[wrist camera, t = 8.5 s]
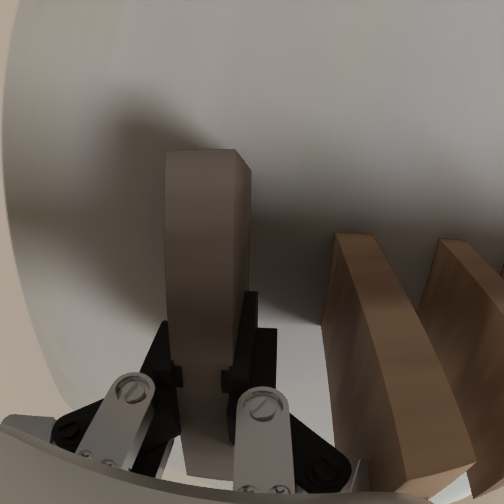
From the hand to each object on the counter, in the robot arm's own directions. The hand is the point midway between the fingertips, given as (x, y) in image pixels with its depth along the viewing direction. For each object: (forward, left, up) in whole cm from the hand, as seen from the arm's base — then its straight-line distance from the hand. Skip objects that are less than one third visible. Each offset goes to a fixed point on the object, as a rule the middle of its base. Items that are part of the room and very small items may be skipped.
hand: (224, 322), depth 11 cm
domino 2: (0, +5, -3) cm, 6 cm away
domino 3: (0, +10, -3) cm, 10 cm away
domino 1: (-6, 0, -1) cm, 6 cm away
